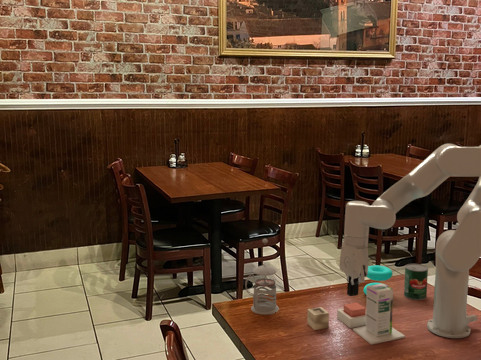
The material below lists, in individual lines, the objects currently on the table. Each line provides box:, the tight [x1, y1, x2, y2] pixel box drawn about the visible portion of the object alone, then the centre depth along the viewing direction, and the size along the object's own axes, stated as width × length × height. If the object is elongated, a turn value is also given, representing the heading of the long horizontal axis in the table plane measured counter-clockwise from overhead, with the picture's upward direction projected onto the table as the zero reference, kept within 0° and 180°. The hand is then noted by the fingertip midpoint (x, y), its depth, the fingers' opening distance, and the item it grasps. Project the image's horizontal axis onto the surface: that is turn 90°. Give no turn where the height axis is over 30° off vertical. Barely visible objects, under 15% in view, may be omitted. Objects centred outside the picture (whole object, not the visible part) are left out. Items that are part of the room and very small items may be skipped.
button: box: [343, 302, 366, 317], centre depth 170 cm, size 5×5×3 cm
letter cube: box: [306, 306, 330, 331], centre depth 167 cm, size 5×5×5 cm
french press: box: [244, 238, 280, 316], centre depth 179 cm, size 10×12×25 cm
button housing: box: [336, 307, 366, 329], centre depth 170 cm, size 8×8×3 cm
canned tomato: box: [403, 263, 429, 301], centre depth 190 cm, size 8×8×11 cm
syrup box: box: [365, 282, 394, 337], centre depth 160 cm, size 6×6×14 cm
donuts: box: [363, 264, 393, 296], centre depth 191 cm, size 10×10×10 cm
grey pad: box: [352, 325, 406, 345], centre depth 161 cm, size 12×10×1 cm
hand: (352, 294), depth 169 cm, fingers closed
